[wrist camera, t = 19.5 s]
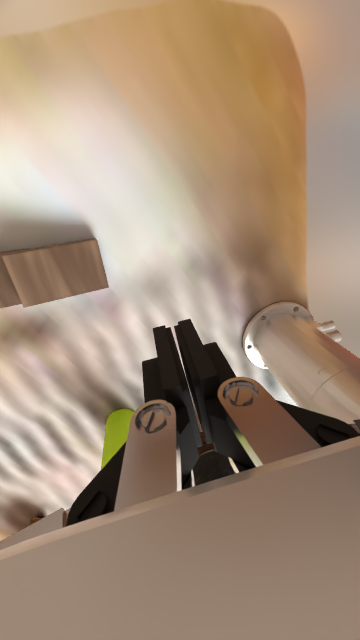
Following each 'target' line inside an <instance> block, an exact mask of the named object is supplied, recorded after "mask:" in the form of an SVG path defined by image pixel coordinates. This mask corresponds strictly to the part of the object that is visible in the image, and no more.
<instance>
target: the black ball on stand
mask: <svg viewBox="0 0 360 640" xmlns="http://www.w3.org/2000/svg"><path fill="white" fill-rule="evenodd" d="M200 437H201V441H202V445H203V446H200V447H197V450H198V453H199V459H198V461H197V462H196V464H195V466H194V467H193V469H192V470H193V474H194V485H195V486H197V485H200V484H203V483H207V482H210V481H213V480H216V479H220V478H223V477H226V476H229V475H233V474H236V473H235V471H234V469H233V468H232V466H231V464H230V461H229V458H228V457H227V456H225V455H223V454H221V453H219V452H215V449H214V446H213V443H210V444H207V443H206V439H205V436H204V433H203V432H202V433H200Z"/></svg>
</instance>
